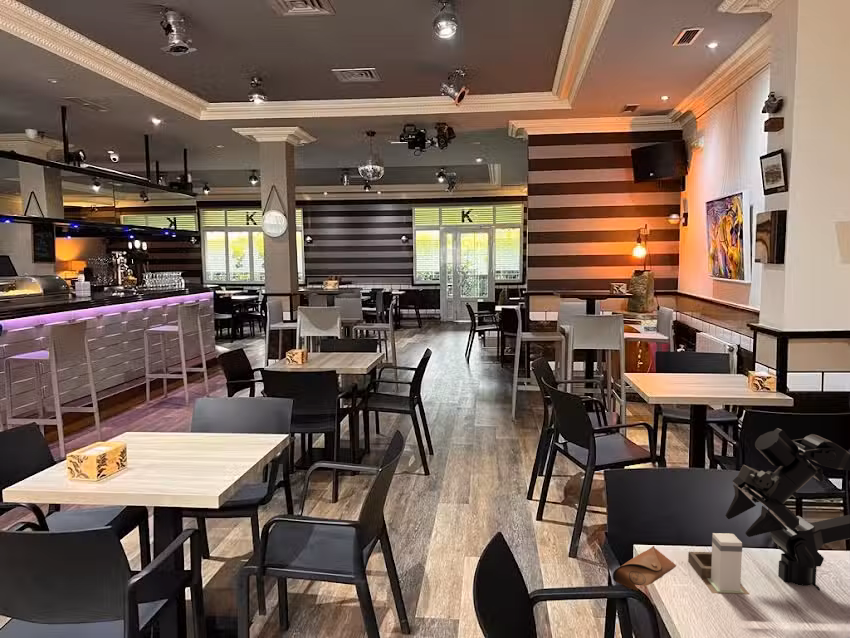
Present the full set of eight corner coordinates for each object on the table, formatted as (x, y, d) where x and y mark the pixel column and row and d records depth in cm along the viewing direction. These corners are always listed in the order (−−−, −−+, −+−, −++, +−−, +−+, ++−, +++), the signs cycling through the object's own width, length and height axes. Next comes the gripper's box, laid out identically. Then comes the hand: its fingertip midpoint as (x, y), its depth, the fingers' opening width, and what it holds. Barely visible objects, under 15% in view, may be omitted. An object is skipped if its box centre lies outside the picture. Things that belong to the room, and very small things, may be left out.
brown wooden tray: (721, 566, 143) (722, 552, 143) (749, 598, 129) (750, 583, 129) (688, 565, 144) (688, 551, 143) (712, 597, 130) (712, 582, 129)
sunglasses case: (646, 595, 131) (633, 564, 133) (621, 599, 135) (608, 569, 138) (683, 567, 143) (670, 540, 145) (659, 572, 147) (646, 545, 149)
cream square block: (731, 579, 135) (733, 533, 134) (740, 590, 130) (742, 543, 129) (710, 579, 135) (712, 533, 134) (719, 590, 130) (720, 542, 129)
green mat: (732, 579, 135) (732, 578, 135) (743, 593, 129) (743, 592, 129) (707, 579, 135) (707, 578, 135) (717, 592, 130) (717, 591, 130)
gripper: (742, 442, 142) (694, 486, 144) (787, 469, 124) (732, 519, 125) (773, 474, 143) (726, 518, 144) (823, 505, 124) (768, 555, 125)
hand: (736, 526), depth 135 cm, fingers open, 9 cm apart
